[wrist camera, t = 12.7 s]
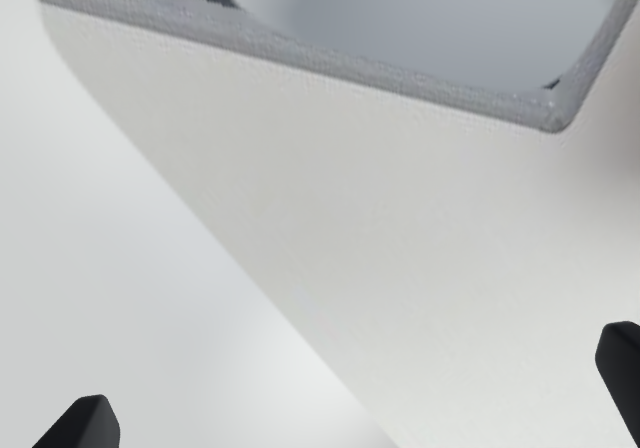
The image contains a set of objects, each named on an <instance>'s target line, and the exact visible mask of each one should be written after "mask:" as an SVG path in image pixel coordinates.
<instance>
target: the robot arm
mask: <svg viewBox="0 0 640 448" xmlns="http://www.w3.org/2000/svg"><path fill="white" fill-rule="evenodd" d="M595 362H596V366H597V368H598V371H599V373H600V375H601V377H602V379H603V381H604V382H605V384H606V386H607V388H608V390H609V392H610V394H611V396H612V398H613V400H614V402H615V404H616V406H617V408H618V410H619V412H620V414H621V416H622V418H623V420H624V422H625V424H626V426H627V428H628V430H629V432H630V434H631V436H632V437H633V439H634V441H635V443H636V445H637V447H638V448H640V326H639V325H637V324H635V323H633V322H630V321H622V322H615V323H609V324H606V325H605V326H604V328H603V330H602V333H601V337H600V340H599V343H598V347H597V350H596V354H595ZM119 441H120V427H119V423H118V421H117V419H116V416H115V414H114V412H113V410H112V408H111V406H110V404H109V401H108V399H107V398H106V397H105V396H104V395H92V396H85V397H81V398H79V399H78V400H76V401H75V402H74V403H73V404H72V405H71V406H70V407H69V408H68V409H67V411H66V412H65V413H64V414H63V415H62V416H61V417H60V418H59V419H58V420H57V421H56V423H54V425H53V426H52V427H51V428H50V429H49V430H48V431H47V432H46V433H45V434H44V435H43V436H42V437H41V438H40V440H39V441H38V442H37V443H36V444H35V445H34V446H33V447H32V448H119Z"/></svg>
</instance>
